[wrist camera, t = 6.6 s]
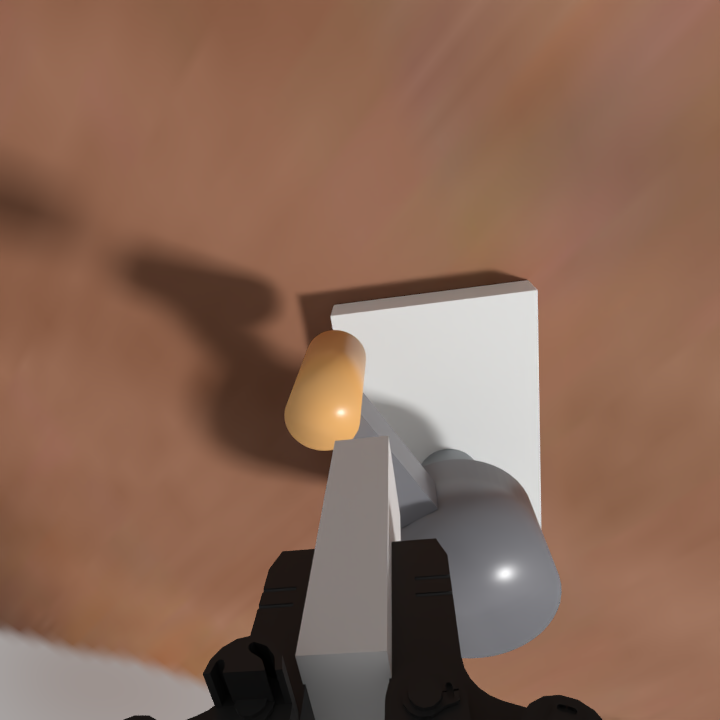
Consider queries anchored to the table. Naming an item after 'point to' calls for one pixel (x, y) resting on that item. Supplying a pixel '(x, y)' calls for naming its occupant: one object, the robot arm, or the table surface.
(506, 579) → the orange knob joystick
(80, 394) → the table surface
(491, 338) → the post base
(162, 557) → the table surface
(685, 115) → the table surface
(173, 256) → the table surface
